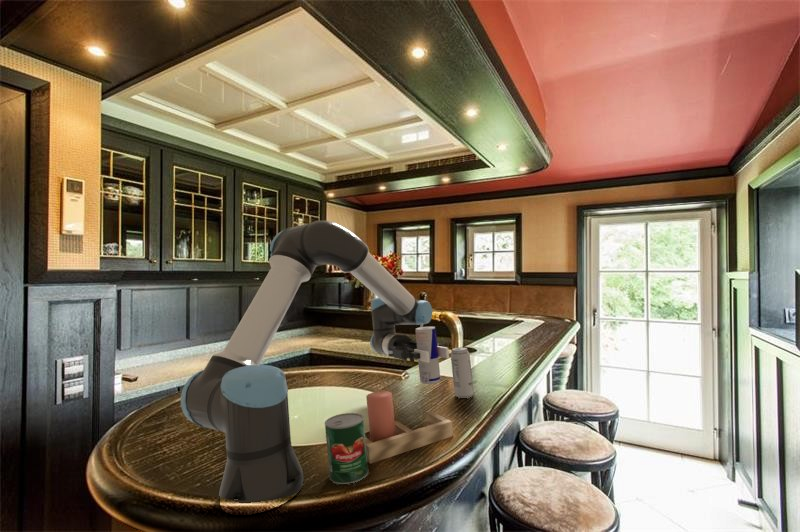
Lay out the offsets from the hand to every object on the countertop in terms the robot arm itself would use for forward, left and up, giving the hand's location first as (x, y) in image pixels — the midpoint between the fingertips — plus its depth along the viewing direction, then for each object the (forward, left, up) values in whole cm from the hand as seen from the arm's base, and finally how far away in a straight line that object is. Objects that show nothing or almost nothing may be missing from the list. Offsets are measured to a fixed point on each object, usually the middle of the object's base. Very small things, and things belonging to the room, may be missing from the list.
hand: (437, 355), depth 98 cm
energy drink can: (+17, +15, -18) cm, 29 cm away
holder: (-14, -2, -18) cm, 23 cm away
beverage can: (0, +5, -8) cm, 10 cm away
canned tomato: (-30, -9, -18) cm, 36 cm away
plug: (-19, -2, -18) cm, 26 cm away
